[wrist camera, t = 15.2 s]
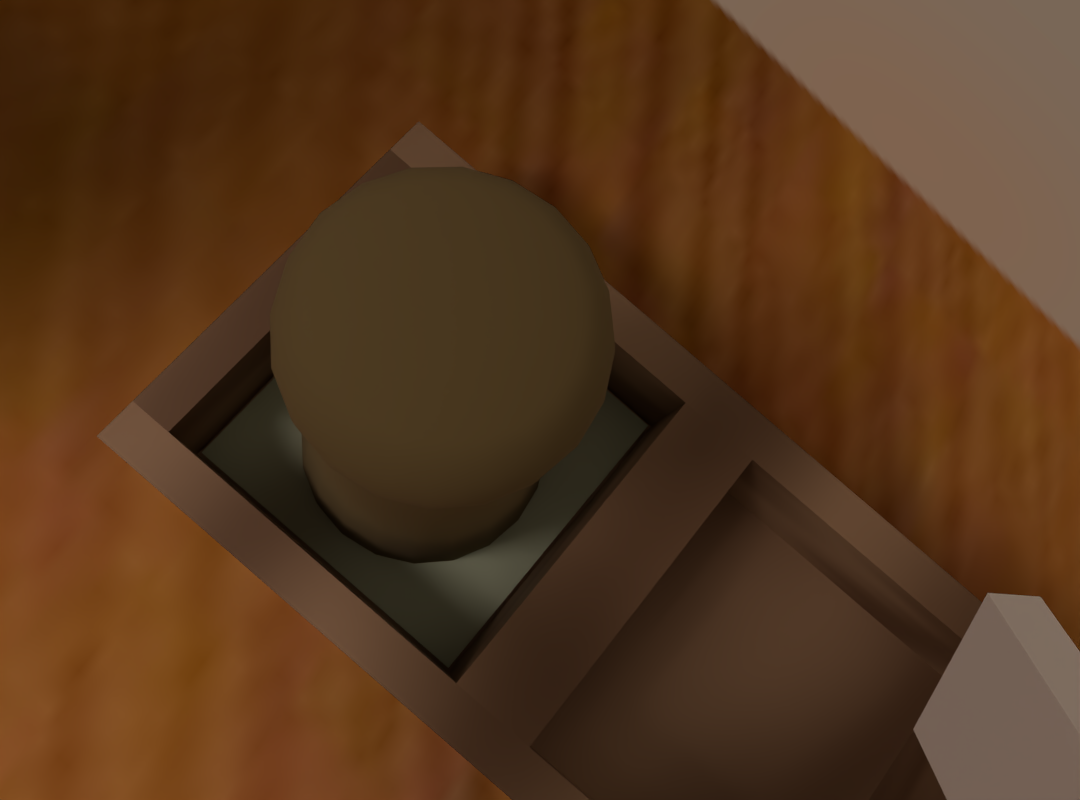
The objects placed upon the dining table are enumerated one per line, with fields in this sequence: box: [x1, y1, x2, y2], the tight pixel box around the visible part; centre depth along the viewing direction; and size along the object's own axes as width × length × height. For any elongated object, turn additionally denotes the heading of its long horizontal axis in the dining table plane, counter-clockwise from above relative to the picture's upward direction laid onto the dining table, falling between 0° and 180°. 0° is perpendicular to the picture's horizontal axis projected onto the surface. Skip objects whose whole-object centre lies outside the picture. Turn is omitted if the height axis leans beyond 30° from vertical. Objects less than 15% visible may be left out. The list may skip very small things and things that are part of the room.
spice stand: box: [97, 122, 982, 800], centre depth 23 cm, size 20×10×4 cm, turn 50°
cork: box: [270, 167, 615, 564], centre depth 18 cm, size 6×6×11 cm
